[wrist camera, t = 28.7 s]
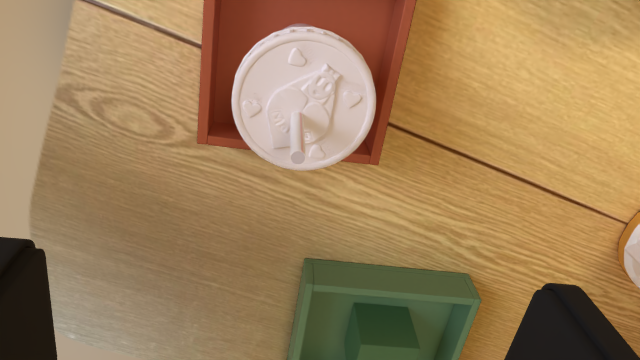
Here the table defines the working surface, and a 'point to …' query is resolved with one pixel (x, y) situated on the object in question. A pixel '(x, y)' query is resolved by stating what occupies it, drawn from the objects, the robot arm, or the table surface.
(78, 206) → the table surface
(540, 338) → the robot arm
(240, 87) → the smoothie
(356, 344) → the green block
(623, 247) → the cup
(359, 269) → the green tray
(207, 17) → the terracotta tray
